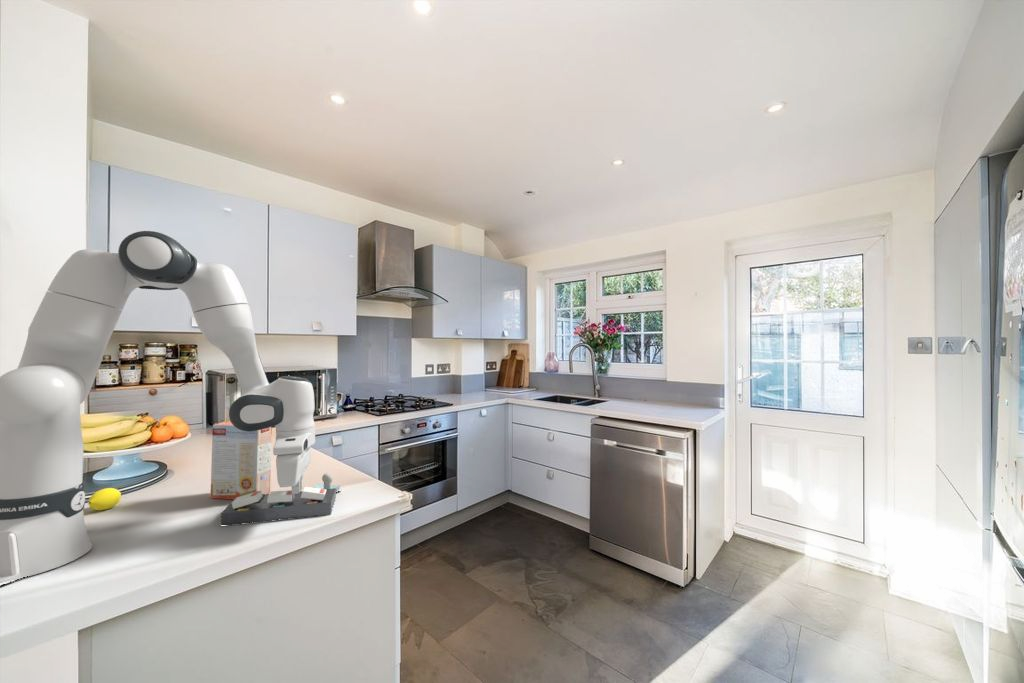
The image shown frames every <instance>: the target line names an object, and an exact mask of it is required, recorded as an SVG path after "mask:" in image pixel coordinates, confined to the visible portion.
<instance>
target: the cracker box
mask: <svg viewBox="0 0 1024 683" xmlns="http://www.w3.org/2000/svg"><path fill="white" fill-rule="evenodd" d="M272 427H273V426H272ZM272 427H269V428H265V429H261V430H258V431H250V432H248V431H242V430H239V429H238V428H236V427H235V426H234V425H233V424H232V423H231V421H230V420H229V421H223V422H218V423H215V424H212V439H211V440H212V442H211V443H212V444H211V463H210V464H211V467H210V468H211V471H210V472H211V474H210V498H211V499H225V500H226V499H228V500H234V499H235V498H236V497H240V496H244V495H247V494H250V493H254V492H257V491H260V490H261V493H262V494H265V495H266V494H270V493H271V467H272V463H271V461H272V435H273V434H272V430H273V428H272Z"/></svg>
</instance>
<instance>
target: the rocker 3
mask: <svg viewBox="0 0 1024 683" xmlns="http://www.w3.org/2000/svg"><path fill="white" fill-rule="evenodd" d="M326 491H327V489H319V488H314V487H312V486H311V487H310V486H304V488H303V490H302V494H301V498H308V499H316V500H323V499H324V497H325V494H326Z"/></svg>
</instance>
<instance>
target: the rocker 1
mask: <svg viewBox="0 0 1024 683" xmlns="http://www.w3.org/2000/svg"><path fill="white" fill-rule="evenodd" d="M261 497H262V493H261V490H260V491H257V492H254V493H250V494H247V495H244V496H240V497H237V498H236V499H235V500H234V499H233V500H234V501H233V500H232V501H233V502H232V501H231V502H232V506H233V509H235V508H238V507H242V506H245V505H248V504H251V503H255V502H258V501H259V500H260V499H261Z"/></svg>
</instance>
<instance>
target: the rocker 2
mask: <svg viewBox="0 0 1024 683" xmlns="http://www.w3.org/2000/svg"><path fill="white" fill-rule="evenodd" d="M294 497H295V494H292V489H290V490H275V491H270V493H269V495H268V499H267V503H274V502H289V501H292V500H293V498H294Z"/></svg>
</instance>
